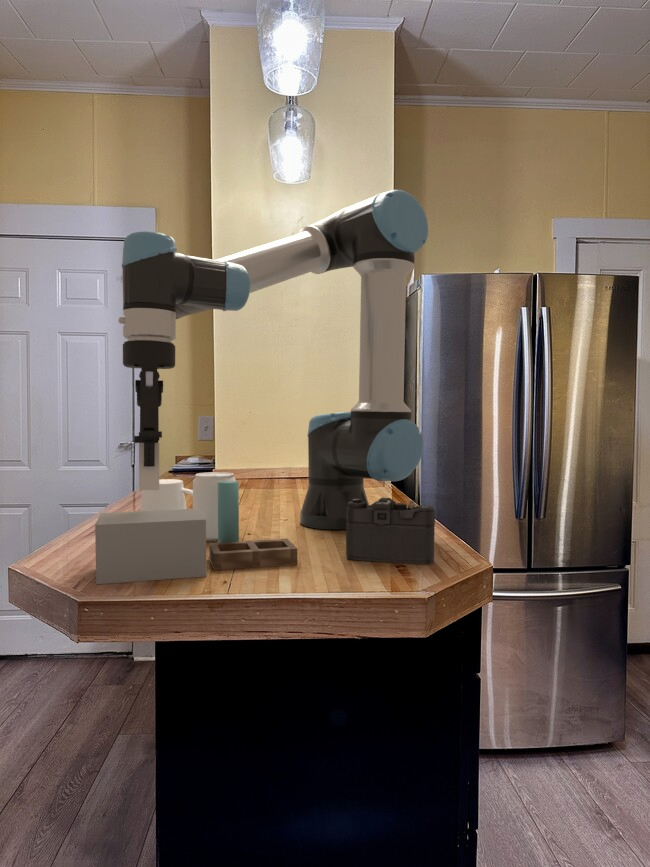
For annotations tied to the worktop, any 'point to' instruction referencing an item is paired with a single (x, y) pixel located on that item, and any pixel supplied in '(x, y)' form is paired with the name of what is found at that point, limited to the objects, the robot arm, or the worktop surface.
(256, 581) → the worktop surface
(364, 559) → the camera
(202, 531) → the cover
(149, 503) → the mug
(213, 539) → the beverage can
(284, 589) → the worktop surface
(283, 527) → the worktop surface
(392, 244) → the robot arm
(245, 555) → the board
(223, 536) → the pin
